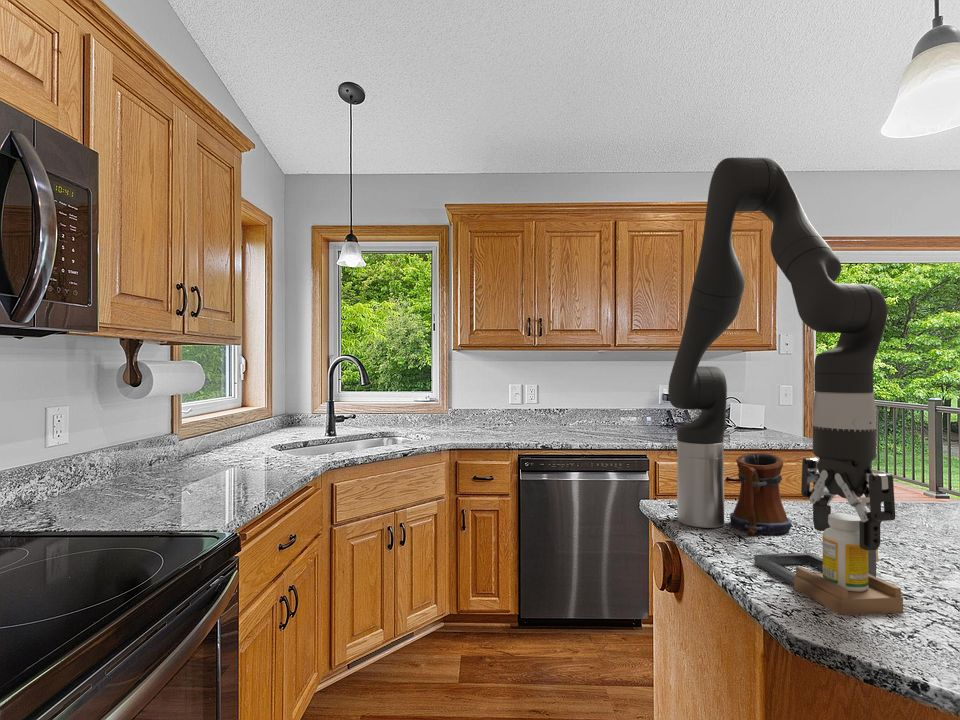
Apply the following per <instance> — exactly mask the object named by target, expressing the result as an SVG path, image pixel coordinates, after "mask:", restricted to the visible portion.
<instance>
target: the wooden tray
mask: <svg viewBox="0 0 960 720" xmlns="http://www.w3.org/2000/svg"><path fill="white" fill-rule="evenodd" d="M795 574H796V575H794V586H793V588H794V590H796V591H797V592H799V593H801V594H802V595H805V596H806V597H808V598H810V599H812V600H813V601H815V602H816V603H818V604H820V605H821V606H823V607H825V608H827V609H829V610H830V611H832V612H834V613H836V614H837V615H838V616H842V617H843V616H857V615H858V616H859V615H874V614H875V615H876V614H878V615H879V614H893V613H894V614H896V613H904V597H903V596H902V594H901V593H902V592H901V591H902V590H901V589H902V588H901V587H899V586H897V585H894V584H893V583H890V582H888V581H886V580H884V579H881V578H879V577H877V576H876V577H875V576H873V575H870V574H868V589H867V590H865V591H862V592H853V591H848V590H846V589H844V588H842V587H840V586H838V585H836V584H834V583H832V582H830V581H828V580H826V579H824V578H823V574H817V573H814V572H812V571H811V570H809V569H807V568H804V567H802V566H795Z"/></svg>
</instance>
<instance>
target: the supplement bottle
mask: <svg viewBox="0 0 960 720" xmlns="http://www.w3.org/2000/svg"><path fill="white" fill-rule="evenodd" d="M859 521H861V519H860V517H859V515H858V516H857V515H854V514H849V513H840V512H839V513H838V512H836V513H835V512H834V513H832V512H831V514H829V515H828V523H829V526H830V528H827V529H825V530H824V531H822V532H823V533H822V559H823V571H822V573H823V578H824V579H826V580H828V581H830V582H832V583H834V584H836V585H838V586H840V587H842V588H844V589H846V590H848V591H853V592H862V591H865V590H867V589H868V550H865V549H862V548H861V547H860V531H859Z"/></svg>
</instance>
